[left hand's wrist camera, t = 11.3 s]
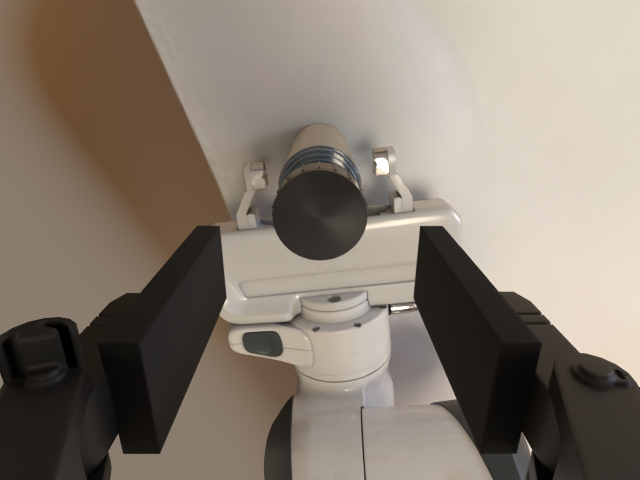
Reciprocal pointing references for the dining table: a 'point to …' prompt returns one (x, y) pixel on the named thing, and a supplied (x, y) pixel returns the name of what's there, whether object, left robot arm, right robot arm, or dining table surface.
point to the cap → (319, 211)
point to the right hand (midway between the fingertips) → (317, 155)
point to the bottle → (319, 150)
